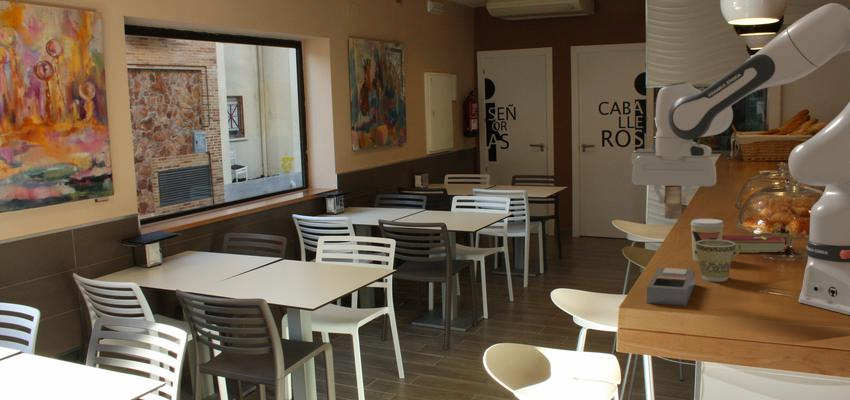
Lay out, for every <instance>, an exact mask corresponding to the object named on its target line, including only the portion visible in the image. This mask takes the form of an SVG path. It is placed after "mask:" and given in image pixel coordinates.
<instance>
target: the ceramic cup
mask: <svg viewBox="0 0 850 400" xmlns="http://www.w3.org/2000/svg"><path fill="white" fill-rule="evenodd" d="M737 245H738V246H739V250H738V252H734V250H735V246H737ZM696 247H697V253H698V258H699V262H698V263H699V268H700V274H701V275H700V276H701V279H702V280H703V281H706V282H714V283H715V282H717V283H718V282H726V281H728V279H729V276H730V275H729V274H730V270H731V265H732V261H733V260H734V258H735V257H736V256H737V255H739V254H740V253H741V252H740V251H741V246H740V244H738V243H734V242H731V241H726V240H700V241H697V242H696Z"/></svg>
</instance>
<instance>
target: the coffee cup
mask: <svg viewBox="0 0 850 400" xmlns="http://www.w3.org/2000/svg"><path fill="white" fill-rule="evenodd" d="M690 230H691V245H692V246H691V249H692V251H691V252H692V259H693V261H695V262H698V263H699V258H698V253H697V247H696V242H697V241H700V240H722V235H724V232H723V231H724V221H723V220H721V219H714V218H695V219H694V218H693V219H692V220H691V222H690Z"/></svg>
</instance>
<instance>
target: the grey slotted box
mask: <svg viewBox="0 0 850 400" xmlns="http://www.w3.org/2000/svg"><path fill="white" fill-rule="evenodd" d="M695 277H696V270H695V269H686V268H674V267H673V268H672V267H671V268H669V267H659V268H658V269H657V270H656V272H655V273H654V275H653V276H652V278H651V279H650V281H649V282H648V285H646V303H647V304H655V305H656V304H657V305H669V306H670V305H671V306H683V307H687V305H688V303H689V301H690V298H691V295H692V293H693V290H694V286H695V284H696V283H695Z"/></svg>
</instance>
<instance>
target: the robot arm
mask: <svg viewBox="0 0 850 400" xmlns="http://www.w3.org/2000/svg"><path fill="white" fill-rule="evenodd" d="M847 52H850V6H848V7H846V6H844V5H842V4H840V3H835V2H834V3H833V2H830V3H827V4H825V5H823V6H820V7H817V8H816V9H814V10H813V11H811V12H809V13H807V14H806V15H804V16H802V17H801V18H800V19H797V20H796V21H795V22H793V23H792V24H791V25H789V26H787V28H785V29H784V30H782V31H781V32H780V33H779V34H777V35H776V36H775V37H773V38H772V39H771V40H770V41H769V42H768V43H766V44H765V45H764V46H763V47H762V48H761V49H759V50H758V51H757V52H756V53H755V54H753V55H752V56H750V58H748V59H747V60H746V61H744V62H743V63H742V64H740V65H739V66H738V67H735V68H734V69H733V70H731V71H730V72H729V73H727V74H725V75H724V76H723V77H721V78H720V79H718V80H716V81H715V82H714V83H712V84H710V85H708V87H705V88H704V89H703V90H700V89H698V88H696V87H695V86H693V85H692V84H691V83H689V82H678V83H676V82H675V83H671V84H667V85H664V86H662V87H661V88H660V89H659V91H658V93H657V96H656V102H655V103H656V106H655V122H656V126H657V127H656V133H655V145H654V147H655V148H637V149H636V150H634V151H633V152H632V153H631V156H630V159H631V160H630V162H631V164H632V165H633V166H632V171H631V183H633V184H634V186H653V187H654V188H653V189H654V190H653V191H654V192H655V193H656V195H657V197H658V203H659V204H665V195H663V194H662V192H661V191H660V190H661V189H662V186H663V187H665V186H682V187H685V190H686V191H687V192H686V194H685V195H682V197H681V204H682V205H688V203H689V202H688V200H689V196H690V195H691V192H692V191H693V189H694V188H693V187H714V186H715V185H716V183H717V167H716V163H715V160H714V158H713V157H712V156H711V154H712V148H711V147H710V146H709V145H706V144H701V143H700V142H695V141H693V140H695V139H699V138H703V137H704V138H705V137H711V136H716V135H719V134H721V133H724V132H726V130H728V129H729V128H730V126H731V125H732V123H733V121H734V120H733V119H734V111H733V105H734V104H736V103H737V102H739V101H740V100H742V99H743V98H745V97H747V96H748V95H750V94H752V93H754V92H757V91H759V90H762V89H766V88H769V87H770V88H771V87H776V86H781V85H782V86H783V85H787V84H790V83H793V82H795V81H798V80H800V79H803V77H806V76H808V75H810V74H812V73H813V72H815V71H816V70H817V69H819V68H820V67H822V66H823V65H825V64H826V63H827V62H829V61H830V60H831V59H832V58H834V57H836V56H838V55H840V54H844V53H847ZM787 165H788V170H789V173H790V175H791V177H792V179H793V180H795V181H796V182H797V183H798V184H799V183H800V184H803V185H808V186H814V187H825V189H824V191H823V193H822V195H821V196H820V198H819V199H818V200H817V202H815V203H814V204H813V205H812V207H811V209H810V216H809V217H810V218H809V235H808V236H809V237H808V238H809V239H808V240H807V243H806V247H805V248H806V255H807V256H808V257H807V262H806V266H805V270H804V274H803V281H802V287H801V289H800V290H801V292H800V294H799V298H798V302H799V303H802V304H805V305H809V306H813V307H816V308H819V309H820V308H821V309H823V310H824V309H825V310H828V311H832V312H837V313H840V314H845V315H849V316H850V101H849V102H848V103H847V105H846V106H845V107H844V108H843V109H842V111H840V112H839V114H837V116H836V117H835V118H833V119H832V120H831V121H829V123H828V124H826V125H825V126H824V127H823V128H822V129H821V130H819V131H818V132H817V133H816V134H815V135H813V136H812V137H810V138H808V139H807V140H805V141H804V142H802V143H799V144H797V145H796V146H794V148H793V149H792V150H791V152H790V153H789V156H788V162H787Z"/></svg>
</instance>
